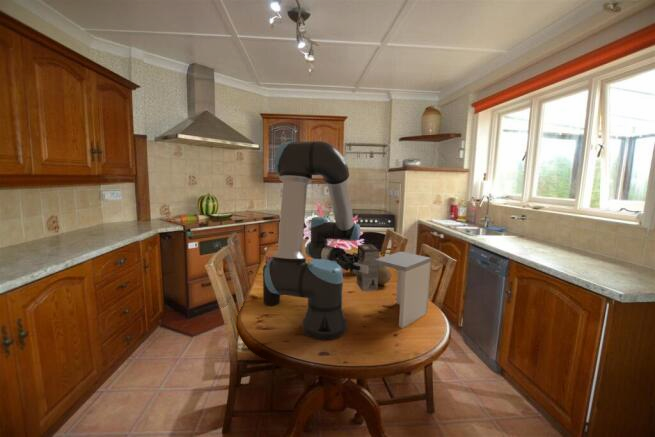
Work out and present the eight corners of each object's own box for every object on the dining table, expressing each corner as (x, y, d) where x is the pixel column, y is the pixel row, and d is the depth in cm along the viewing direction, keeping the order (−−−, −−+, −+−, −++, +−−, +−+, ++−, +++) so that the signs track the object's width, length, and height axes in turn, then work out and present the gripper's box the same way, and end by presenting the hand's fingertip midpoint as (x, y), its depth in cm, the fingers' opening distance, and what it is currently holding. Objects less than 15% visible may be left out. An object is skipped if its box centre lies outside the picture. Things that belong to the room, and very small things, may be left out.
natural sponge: (395, 287, 144) (396, 267, 143) (378, 289, 142) (378, 268, 140) (385, 281, 153) (386, 262, 151) (369, 282, 150) (370, 263, 149)
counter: (402, 328, 106) (406, 267, 102) (372, 315, 115) (374, 259, 111) (427, 312, 118) (431, 257, 115) (398, 302, 127) (401, 251, 124)
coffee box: (355, 283, 123) (357, 244, 121) (370, 282, 125) (372, 244, 122) (362, 291, 114) (363, 250, 112) (378, 290, 116) (380, 249, 113)
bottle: (260, 304, 123) (259, 256, 120) (269, 298, 129) (268, 252, 126) (274, 307, 120) (274, 258, 118) (283, 300, 127) (283, 254, 124)
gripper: (350, 259, 139) (392, 270, 124) (314, 269, 123) (357, 283, 108) (351, 243, 138) (393, 252, 123) (315, 251, 122) (358, 263, 107)
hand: (376, 267), depth 115 cm, fingers closed on coffee box, 10 cm apart
